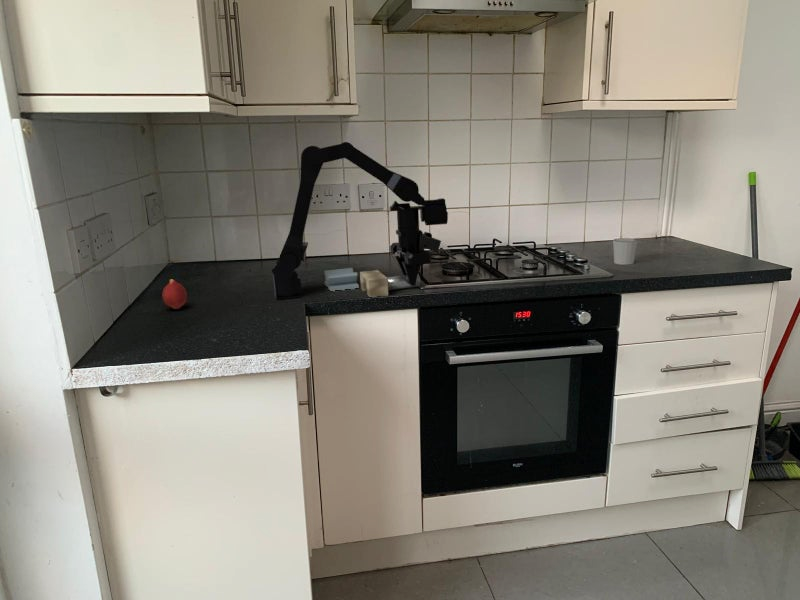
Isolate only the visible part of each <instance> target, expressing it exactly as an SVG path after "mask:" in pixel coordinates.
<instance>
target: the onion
mask: <svg viewBox="0 0 800 600" xmlns="http://www.w3.org/2000/svg"><path fill="white" fill-rule="evenodd" d="M168 281H169V282H168V283H167V284H166V286H165V287H164V288H163V290H162V294H161V295H162V301H163V302H164V304H165V305H167V306H168V307H170V308H172V309H173V310H174V309H178V310H179V309H180V308H182V307H183V306H184V305H185V303H186V302H187V299H188V297H187V296H188V295H187V294H188V293H187V290H186V288H185V287H184V286H183V285H182V284H181V283H179V282H177V281H175V280H174V279H169V280H168Z"/></svg>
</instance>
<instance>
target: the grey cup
mask: <svg viewBox="0 0 800 600" xmlns="http://www.w3.org/2000/svg"><path fill="white" fill-rule="evenodd" d="M637 243H638V240H637V239H635V238H629V237H628V238H627V237H625V238H623V237H620V238H614V239H613V241H612V245H613V262H614V264H616V265H624V266H625V265H627V266H628V265H633V264H634V263H635V257H636V252H637V245H638V244H637Z"/></svg>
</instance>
